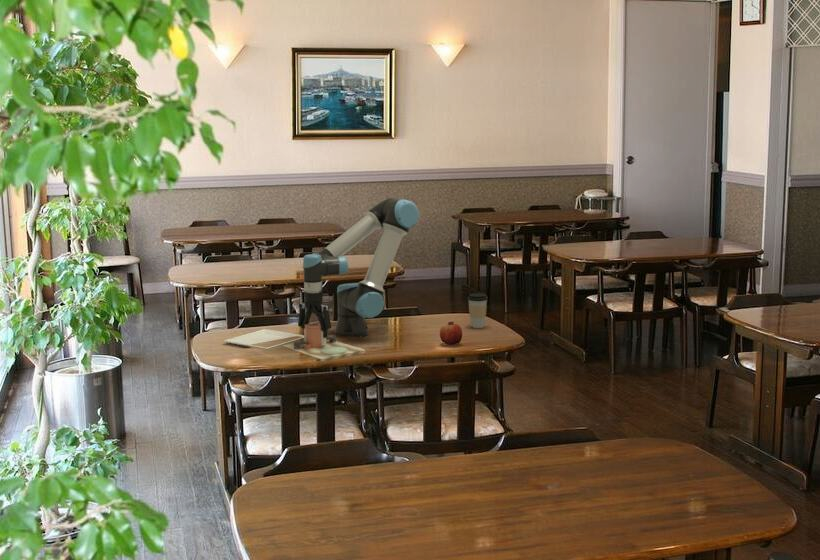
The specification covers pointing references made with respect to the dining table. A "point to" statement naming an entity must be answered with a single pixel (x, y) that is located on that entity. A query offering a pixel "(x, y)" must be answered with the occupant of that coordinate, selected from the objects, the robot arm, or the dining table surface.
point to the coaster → (333, 350)
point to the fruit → (451, 333)
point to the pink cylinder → (313, 335)
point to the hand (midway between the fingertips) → (315, 344)
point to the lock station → (329, 343)
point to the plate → (261, 338)
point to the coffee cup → (477, 309)
